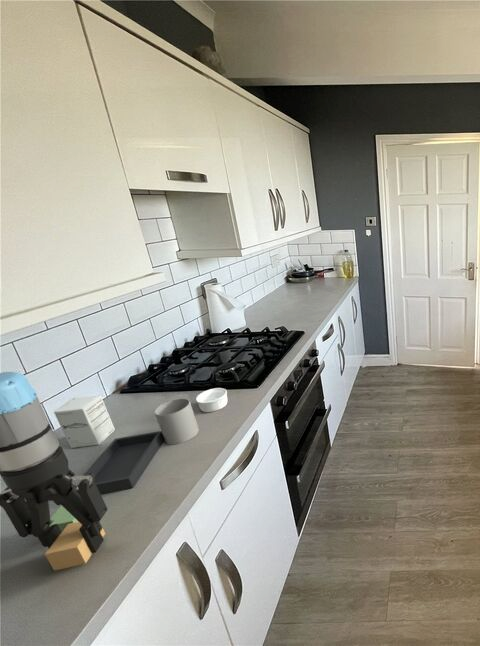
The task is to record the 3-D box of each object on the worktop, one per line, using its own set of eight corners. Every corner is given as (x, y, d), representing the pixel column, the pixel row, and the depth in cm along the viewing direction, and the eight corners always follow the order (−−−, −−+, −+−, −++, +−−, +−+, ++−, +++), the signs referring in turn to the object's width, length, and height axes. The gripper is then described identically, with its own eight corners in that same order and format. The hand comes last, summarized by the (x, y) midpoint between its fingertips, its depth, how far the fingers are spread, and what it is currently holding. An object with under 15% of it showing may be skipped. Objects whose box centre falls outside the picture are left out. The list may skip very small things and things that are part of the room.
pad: (51, 542, 72) (42, 527, 70) (72, 516, 78) (64, 501, 76) (81, 536, 73) (72, 520, 72) (99, 510, 79) (91, 496, 77)
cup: (195, 422, 109) (187, 395, 105) (201, 434, 103) (192, 406, 100) (163, 434, 104) (152, 406, 100) (167, 448, 98) (156, 419, 94)
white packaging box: (70, 449, 99) (51, 411, 94) (89, 432, 106) (73, 396, 101) (99, 445, 100) (82, 408, 95) (116, 429, 107) (101, 394, 102)
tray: (76, 499, 82) (70, 489, 81) (118, 447, 99) (114, 438, 98) (133, 488, 85) (129, 478, 84) (165, 439, 102) (162, 430, 101)
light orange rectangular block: (54, 570, 65) (44, 554, 64) (76, 539, 71) (68, 523, 70) (86, 563, 67) (77, 547, 65) (105, 533, 72) (97, 517, 71)
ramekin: (235, 399, 120) (232, 389, 119) (215, 415, 112) (211, 403, 111) (214, 397, 122) (211, 386, 121) (192, 412, 114) (189, 400, 113)
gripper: (104, 434, 66) (142, 522, 74) (-17, 452, 61) (38, 544, 70) (79, 461, 59) (124, 555, 68) (-59, 485, 55) (7, 582, 63)
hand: (80, 549), depth 69 cm, fingers closed on light orange rectangular block, 5 cm apart
